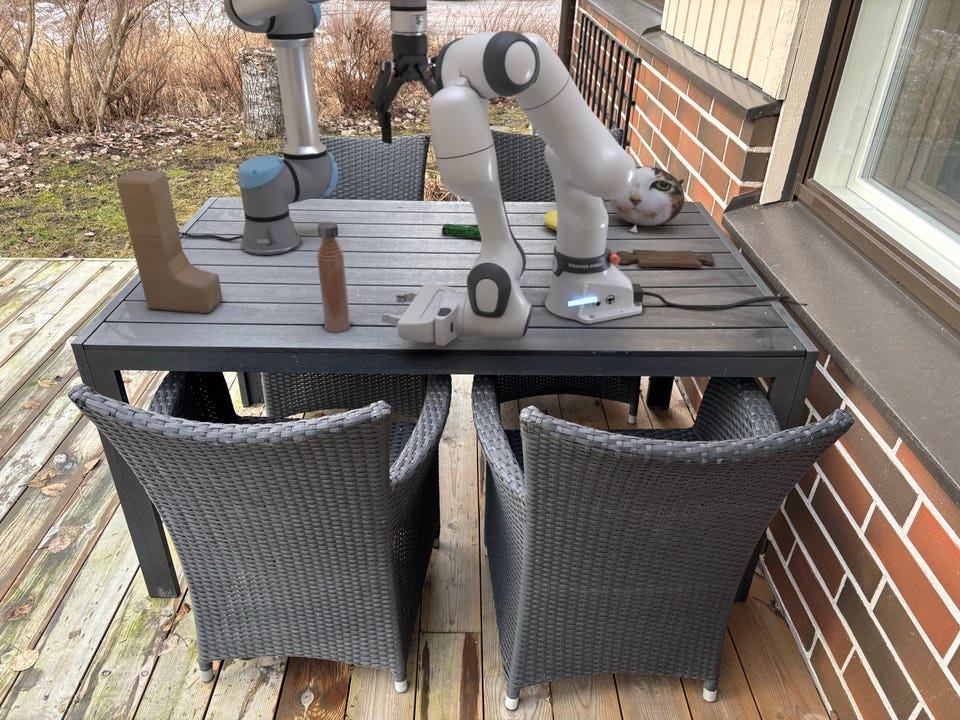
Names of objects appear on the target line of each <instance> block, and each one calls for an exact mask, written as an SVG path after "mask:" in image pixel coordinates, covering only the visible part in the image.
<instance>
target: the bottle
mask: <svg viewBox="0 0 960 720" xmlns="http://www.w3.org/2000/svg"><path fill="white" fill-rule="evenodd" d="M321 239H322V240H321V241H320V244H319V248H318V251H317V256H316V259H317V267H318V276H319V277H318V278H319V286H320V295H321V305H322V313H323V322H324V329H325V330H326V331H328V332H332V333H339V332H340V333H341V332H344V331H347V330H348V329H350V327H351V317H350V307H349V296H348V285H347V284H348V283H347V273H346V262H345V254H344V251H343V249H342V247H341V246H340V244H339V242H338V239H336V237H335V238H330V239H325V238H321Z"/></svg>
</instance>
